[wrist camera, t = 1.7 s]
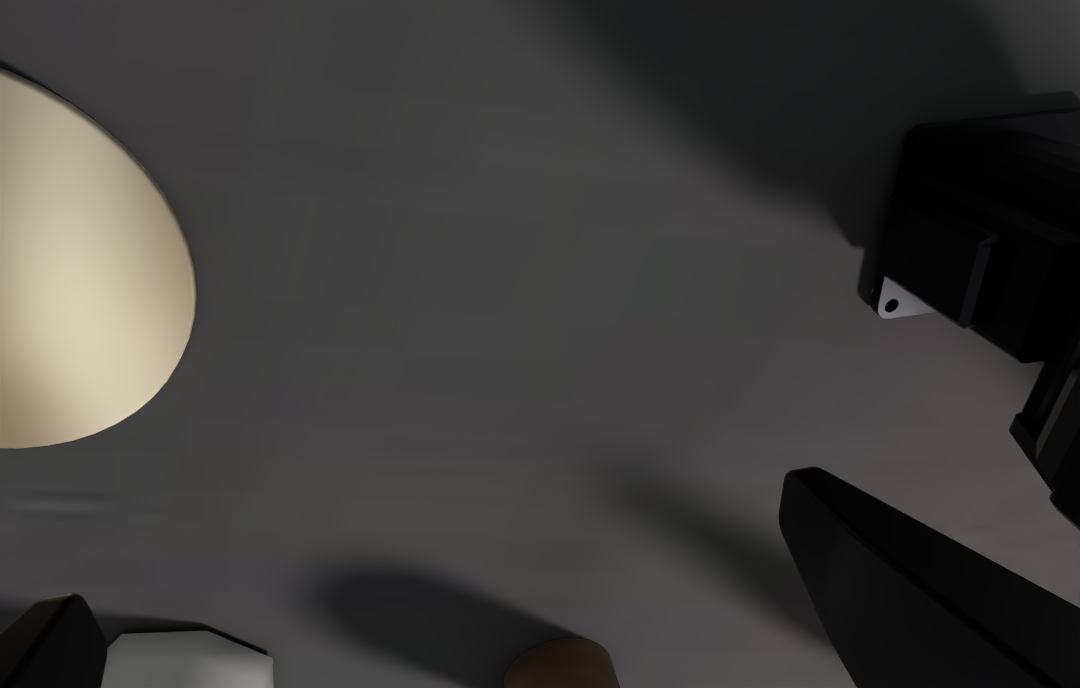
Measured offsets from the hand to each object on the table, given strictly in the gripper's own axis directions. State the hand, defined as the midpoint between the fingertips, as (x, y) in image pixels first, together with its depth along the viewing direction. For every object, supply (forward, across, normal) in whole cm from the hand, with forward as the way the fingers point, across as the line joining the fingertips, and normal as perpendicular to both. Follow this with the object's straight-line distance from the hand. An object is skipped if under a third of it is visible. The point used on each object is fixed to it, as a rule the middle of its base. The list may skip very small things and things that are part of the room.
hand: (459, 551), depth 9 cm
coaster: (+13, +12, 0) cm, 18 cm away
